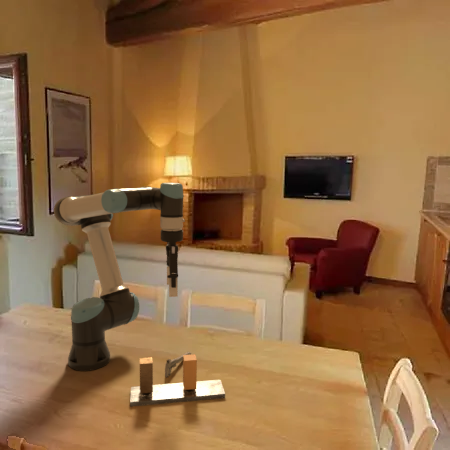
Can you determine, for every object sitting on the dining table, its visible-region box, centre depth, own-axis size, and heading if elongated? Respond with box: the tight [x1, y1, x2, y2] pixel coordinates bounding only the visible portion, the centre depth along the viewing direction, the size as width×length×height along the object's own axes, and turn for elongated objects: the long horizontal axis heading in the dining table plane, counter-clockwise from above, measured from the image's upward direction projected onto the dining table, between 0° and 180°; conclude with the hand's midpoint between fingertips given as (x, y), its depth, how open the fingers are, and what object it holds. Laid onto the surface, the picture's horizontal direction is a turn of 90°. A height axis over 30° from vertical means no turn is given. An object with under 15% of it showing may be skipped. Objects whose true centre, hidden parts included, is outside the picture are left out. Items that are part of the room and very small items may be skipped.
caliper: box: [164, 351, 192, 378], centre depth 158 cm, size 20×1×6 cm, turn 161°
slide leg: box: [182, 354, 198, 390], centre depth 138 cm, size 4×4×11 cm
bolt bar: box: [129, 356, 226, 408], centre depth 138 cm, size 9×30×13 cm, turn 101°
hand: (171, 290), depth 145 cm, fingers open, 13 cm apart
